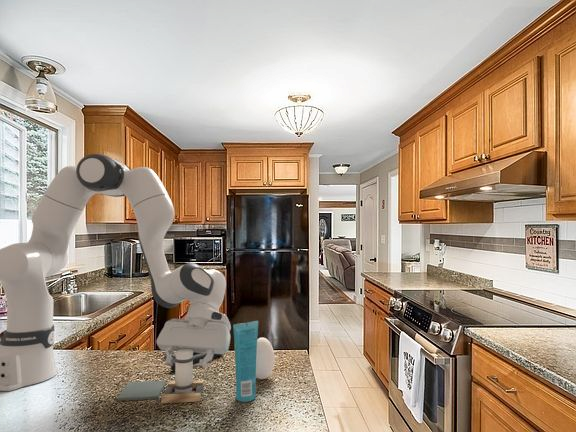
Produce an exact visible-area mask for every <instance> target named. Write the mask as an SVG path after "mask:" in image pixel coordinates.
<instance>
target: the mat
mask: <svg viewBox="0 0 576 432" xmlns="http://www.w3.org/2000/svg"><path fill="white" fill-rule="evenodd" d="M166 383H167V380H147V381H146V380H145V381H128V383H127V384H126V385H125V387H124V388H123V390H122V391H121V392H120V393H119V395H118V396H117V397H116V401H119V402H120V401H136V400H137V401H139V400H156V399H157V400H158V399H159V398H160V396H161V393H162V391H163V390H164V388H165V385H166Z"/></svg>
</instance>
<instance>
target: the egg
mask: <svg viewBox="0 0 576 432" xmlns="http://www.w3.org/2000/svg"><path fill="white" fill-rule="evenodd" d="M275 358H276V357H275V351H274V348H273V346H272V343H271V341H270V340H269V339H267V338H266V337H259V338H257V356H256V379H259V380H265V379H267V378H268V377H269V376H270V375H271V374H272V372H273V370H274V367H275V363H276V362H275V361H276V359H275Z"/></svg>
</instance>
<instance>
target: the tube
mask: <svg viewBox="0 0 576 432" xmlns="http://www.w3.org/2000/svg"><path fill="white" fill-rule="evenodd" d="M258 332H259V320H254V321H250V322H249V321H248V322H242V323H241V322H240V323H236V324H233V341H234V342H233V343H234V361H235V366H234V367H235V396H236V397H235V398H236V400H237V401H239V402H241V403H242V402H245V403H246V402H251V401H254V400H255V399H256V390H257V389H256V387H257V385H256V381H257V377H256V356H257V340H258V335H259V333H258Z"/></svg>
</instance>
